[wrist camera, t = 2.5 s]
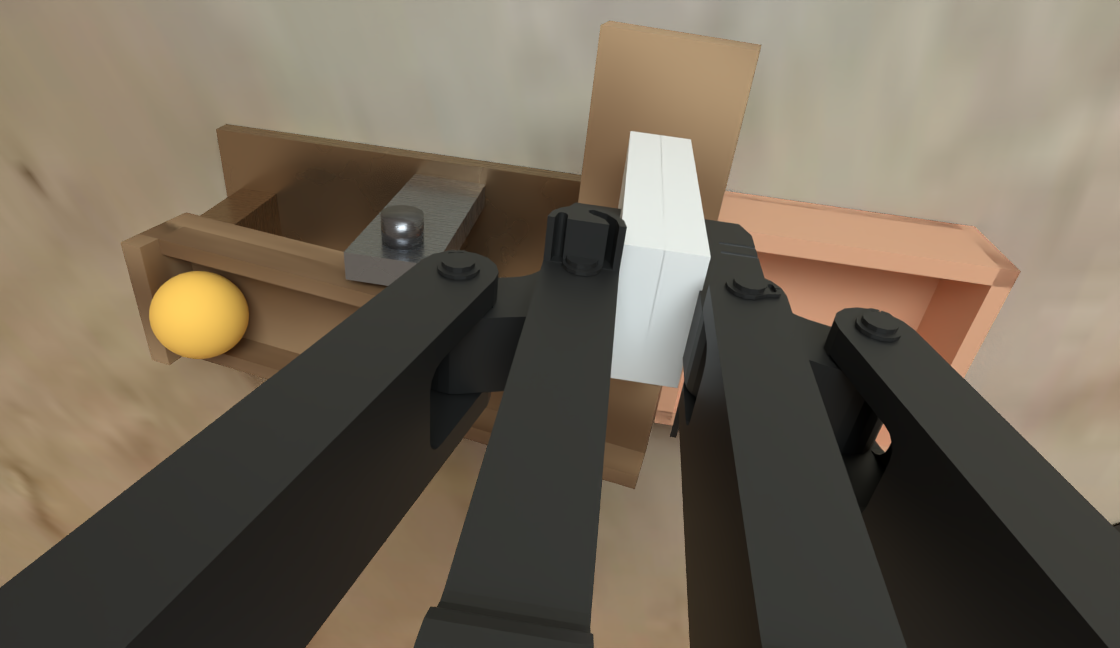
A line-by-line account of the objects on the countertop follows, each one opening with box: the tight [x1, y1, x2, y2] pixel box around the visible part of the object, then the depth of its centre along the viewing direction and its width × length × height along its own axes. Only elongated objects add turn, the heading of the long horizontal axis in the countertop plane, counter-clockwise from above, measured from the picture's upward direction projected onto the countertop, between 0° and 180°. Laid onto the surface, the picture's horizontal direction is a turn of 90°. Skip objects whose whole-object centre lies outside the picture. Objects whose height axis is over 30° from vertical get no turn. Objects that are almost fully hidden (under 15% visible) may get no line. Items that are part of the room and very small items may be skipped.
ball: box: [149, 271, 249, 359], centre depth 24 cm, size 3×3×3 cm
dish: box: [654, 191, 1021, 452], centre depth 28 cm, size 9×11×4 cm
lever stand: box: [201, 124, 582, 286], centre depth 27 cm, size 10×20×8 cm, turn 84°
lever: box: [121, 21, 761, 489], centre depth 21 cm, size 14×20×3 cm
